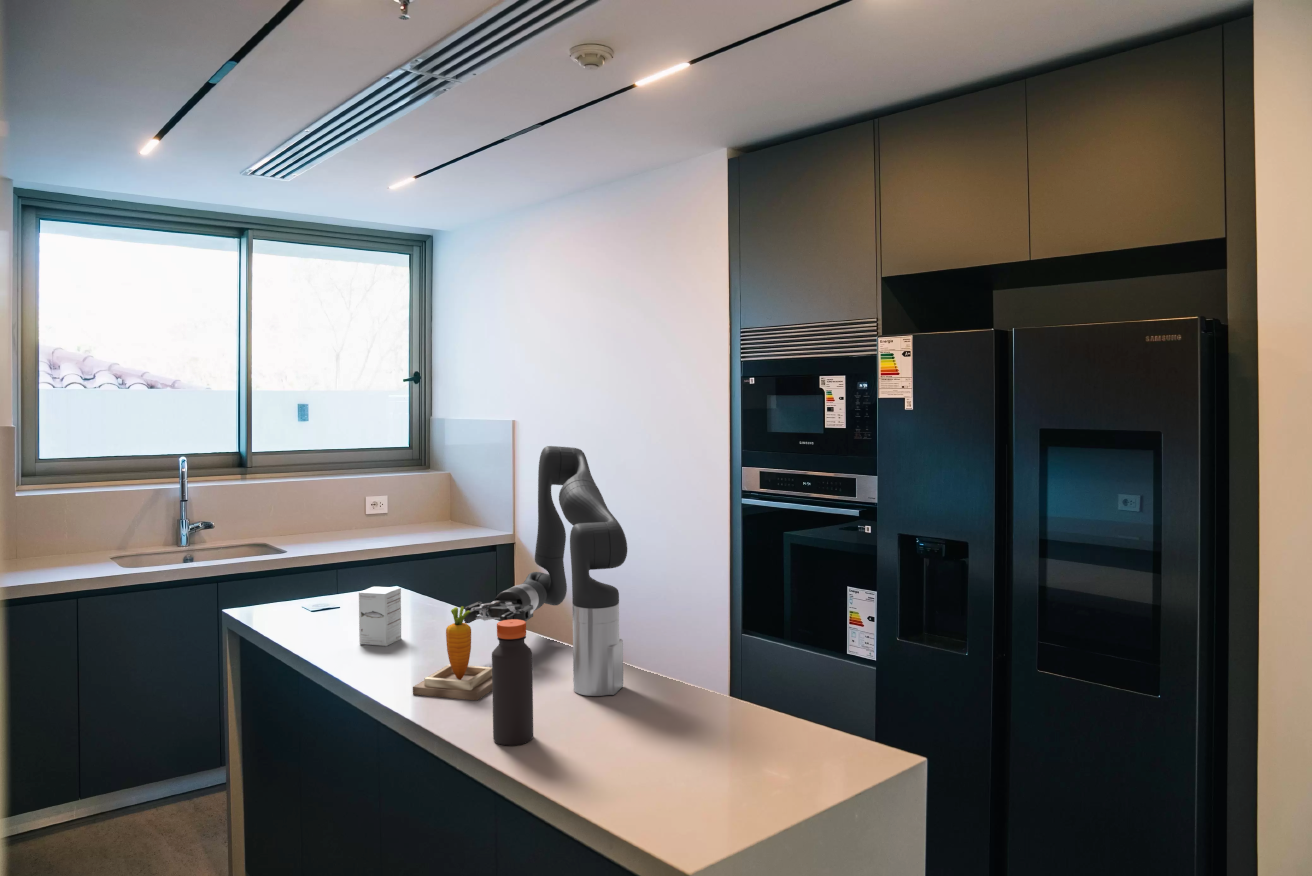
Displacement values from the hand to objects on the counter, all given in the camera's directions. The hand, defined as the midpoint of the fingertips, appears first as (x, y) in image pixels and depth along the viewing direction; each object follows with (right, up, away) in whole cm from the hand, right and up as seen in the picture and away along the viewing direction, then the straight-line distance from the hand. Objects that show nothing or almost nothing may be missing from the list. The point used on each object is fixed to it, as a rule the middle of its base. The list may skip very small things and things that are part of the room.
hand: (484, 619), depth 190 cm
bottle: (+12, -13, -37) cm, 41 cm away
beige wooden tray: (-3, -12, -10) cm, 16 cm away
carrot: (-3, -10, -10) cm, 15 cm away
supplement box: (-29, -10, +25) cm, 40 cm away
